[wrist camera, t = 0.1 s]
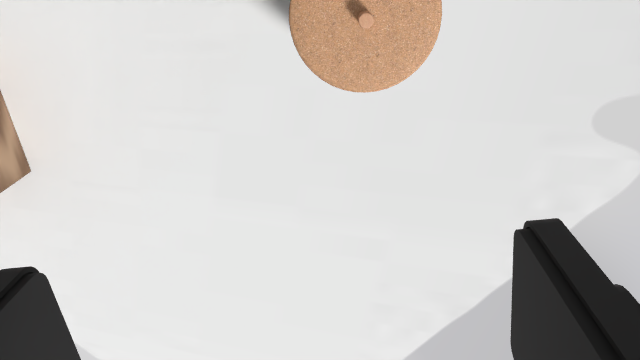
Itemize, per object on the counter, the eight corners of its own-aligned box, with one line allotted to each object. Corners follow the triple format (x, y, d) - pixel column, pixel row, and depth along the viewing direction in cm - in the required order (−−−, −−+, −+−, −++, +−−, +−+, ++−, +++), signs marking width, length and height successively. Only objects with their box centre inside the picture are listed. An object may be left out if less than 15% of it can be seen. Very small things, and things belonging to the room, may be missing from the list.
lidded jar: (311, 81, 45) (304, 111, 37) (284, -49, 41) (269, -48, 33) (432, 58, 44) (454, 83, 36) (417, -78, 40) (438, -86, 31)
